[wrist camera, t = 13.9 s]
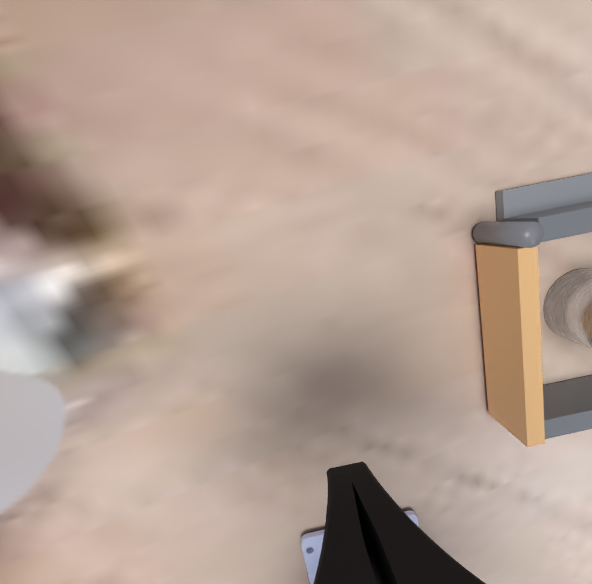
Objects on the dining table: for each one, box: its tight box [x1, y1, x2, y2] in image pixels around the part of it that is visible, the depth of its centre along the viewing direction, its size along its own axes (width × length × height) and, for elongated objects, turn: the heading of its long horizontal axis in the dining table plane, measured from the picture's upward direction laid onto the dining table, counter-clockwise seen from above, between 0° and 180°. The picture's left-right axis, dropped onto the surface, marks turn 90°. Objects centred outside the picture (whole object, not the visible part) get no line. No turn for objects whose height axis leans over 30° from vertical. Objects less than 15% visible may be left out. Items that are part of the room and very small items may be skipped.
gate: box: [473, 222, 545, 447], centre depth 18 cm, size 12×1×4 cm, turn 11°
